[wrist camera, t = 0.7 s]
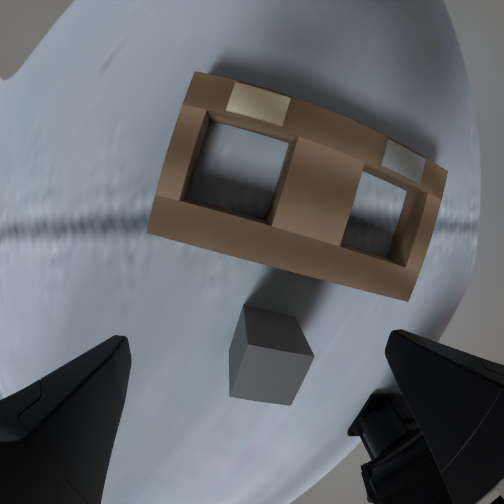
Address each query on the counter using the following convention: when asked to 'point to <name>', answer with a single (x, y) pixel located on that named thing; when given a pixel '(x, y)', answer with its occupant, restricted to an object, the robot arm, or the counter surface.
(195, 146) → the socket bar
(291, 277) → the counter surface
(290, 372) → the plug
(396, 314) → the counter surface
